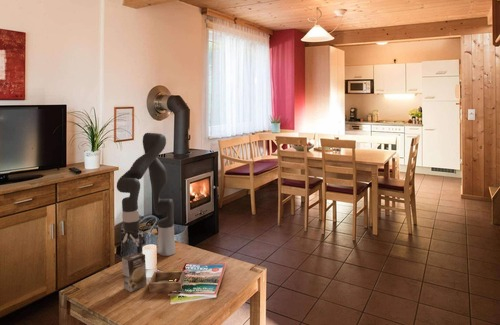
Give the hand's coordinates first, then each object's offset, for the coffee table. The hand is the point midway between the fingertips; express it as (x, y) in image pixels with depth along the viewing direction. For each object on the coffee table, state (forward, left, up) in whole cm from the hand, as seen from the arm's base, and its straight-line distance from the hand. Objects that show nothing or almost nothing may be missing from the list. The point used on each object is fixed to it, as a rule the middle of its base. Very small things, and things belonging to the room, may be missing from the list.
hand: (133, 251), depth 177 cm
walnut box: (+14, +8, -19) cm, 24 cm away
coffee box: (0, 0, -19) cm, 19 cm away
